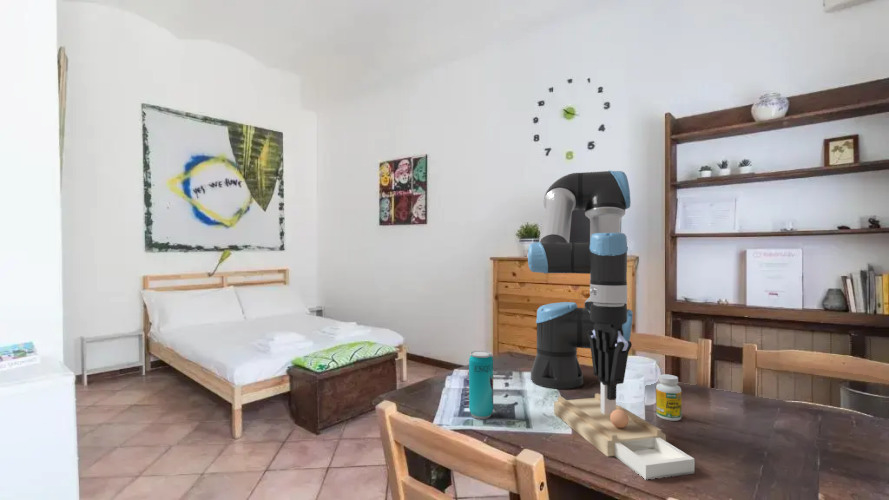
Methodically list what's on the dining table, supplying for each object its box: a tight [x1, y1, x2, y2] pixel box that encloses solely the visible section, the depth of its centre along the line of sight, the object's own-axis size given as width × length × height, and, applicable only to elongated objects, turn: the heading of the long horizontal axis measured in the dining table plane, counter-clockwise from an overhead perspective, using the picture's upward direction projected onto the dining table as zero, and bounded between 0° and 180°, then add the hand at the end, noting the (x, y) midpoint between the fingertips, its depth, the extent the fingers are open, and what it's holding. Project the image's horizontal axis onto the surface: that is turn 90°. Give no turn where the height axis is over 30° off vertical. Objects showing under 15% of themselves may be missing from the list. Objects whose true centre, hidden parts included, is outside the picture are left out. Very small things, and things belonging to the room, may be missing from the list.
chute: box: [553, 392, 667, 457], centre depth 96 cm, size 22×13×4 cm, turn 13°
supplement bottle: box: [655, 373, 683, 422], centre depth 104 cm, size 5×5×10 cm
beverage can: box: [468, 350, 494, 420], centre depth 105 cm, size 6×6×15 cm
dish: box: [613, 437, 696, 481], centre depth 82 cm, size 10×10×3 cm
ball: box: [610, 409, 629, 428], centre depth 91 cm, size 4×4×4 cm
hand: (608, 412), depth 95 cm, fingers closed
